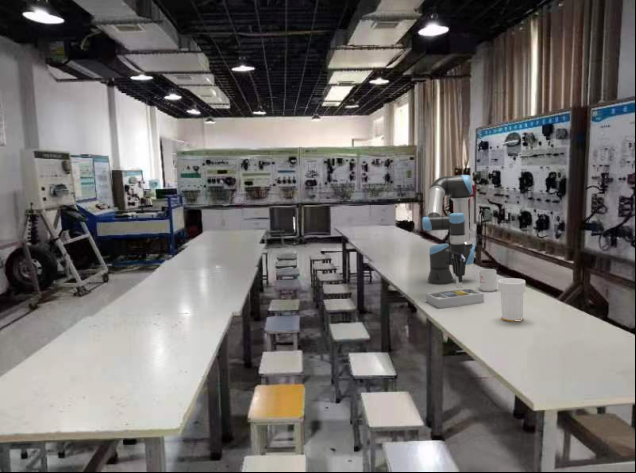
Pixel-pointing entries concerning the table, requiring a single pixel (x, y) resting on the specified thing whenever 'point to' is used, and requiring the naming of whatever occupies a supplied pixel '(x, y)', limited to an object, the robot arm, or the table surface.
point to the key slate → (449, 294)
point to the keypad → (454, 298)
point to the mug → (487, 279)
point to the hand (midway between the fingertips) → (459, 288)
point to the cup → (511, 298)
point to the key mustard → (460, 293)
